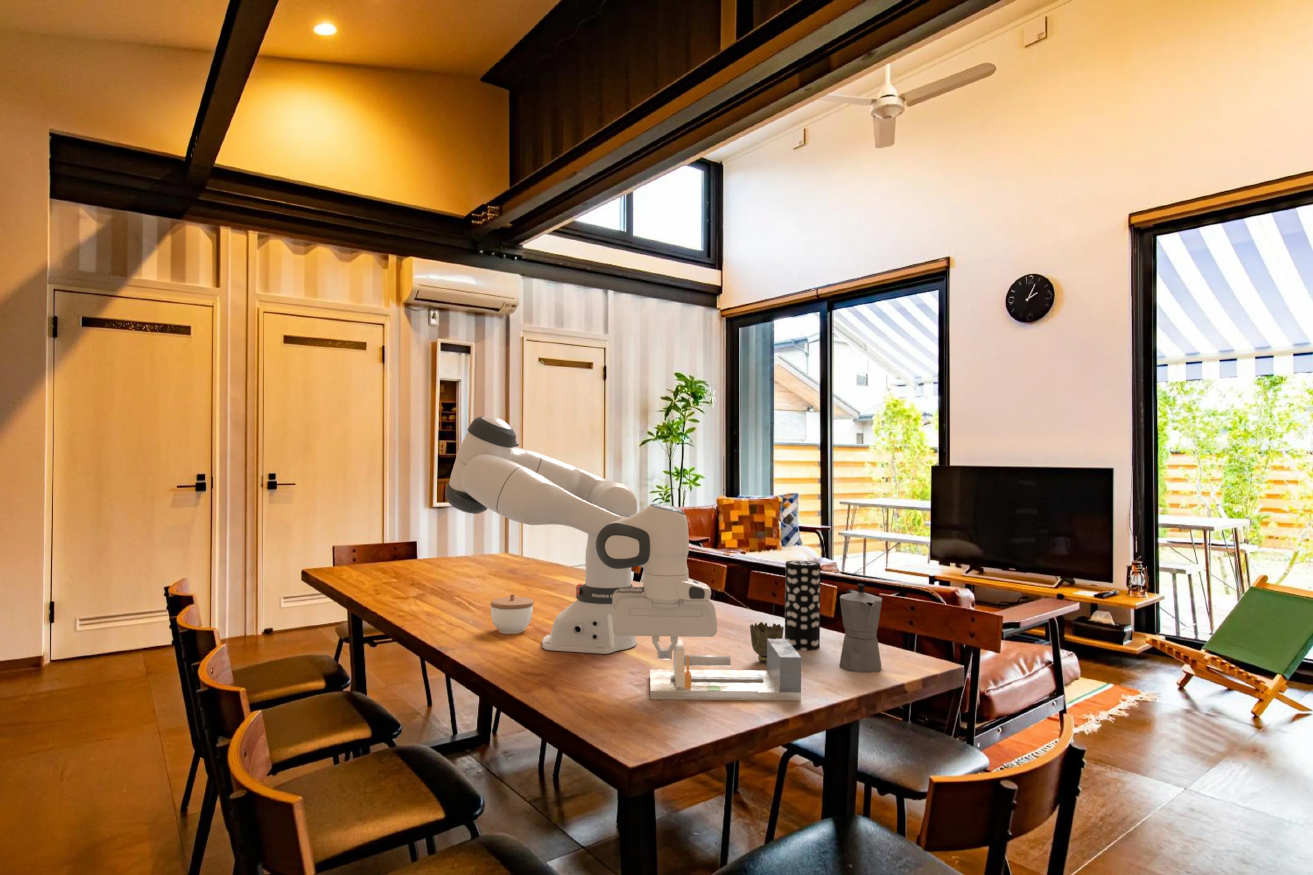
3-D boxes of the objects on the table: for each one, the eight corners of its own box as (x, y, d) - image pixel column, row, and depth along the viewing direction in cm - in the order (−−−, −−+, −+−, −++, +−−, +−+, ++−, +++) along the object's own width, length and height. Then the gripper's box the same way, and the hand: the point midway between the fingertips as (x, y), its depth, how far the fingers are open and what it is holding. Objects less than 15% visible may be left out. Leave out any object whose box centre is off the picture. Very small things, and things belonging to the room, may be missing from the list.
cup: (787, 660, 163) (787, 624, 164) (778, 668, 157) (778, 630, 157) (755, 655, 166) (755, 620, 167) (745, 663, 160) (745, 627, 160)
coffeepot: (892, 675, 152) (893, 589, 153) (848, 675, 152) (849, 589, 153) (868, 656, 168) (868, 577, 168) (827, 655, 167) (828, 577, 168)
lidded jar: (512, 638, 179) (513, 599, 179) (480, 632, 185) (481, 595, 185) (541, 630, 188) (542, 593, 188) (510, 624, 194) (511, 589, 194)
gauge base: (650, 699, 135) (651, 655, 135) (649, 676, 149) (650, 637, 149) (800, 700, 136) (801, 657, 136) (786, 678, 150) (786, 638, 150)
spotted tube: (817, 642, 179) (818, 561, 180) (821, 651, 171) (822, 565, 172) (783, 641, 180) (784, 560, 181) (785, 649, 172) (786, 564, 173)
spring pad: (676, 686, 135) (676, 654, 135) (673, 669, 147) (673, 639, 147) (734, 687, 135) (734, 654, 136) (727, 669, 147) (727, 639, 147)
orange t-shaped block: (684, 688, 135) (685, 657, 135) (684, 684, 138) (684, 654, 138) (691, 688, 135) (691, 657, 135) (690, 684, 138) (690, 654, 138)
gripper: (611, 589, 139) (610, 662, 139) (718, 590, 140) (717, 663, 139) (613, 583, 146) (611, 653, 145) (715, 585, 146) (714, 654, 146)
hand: (664, 658), depth 142 cm, fingers closed
